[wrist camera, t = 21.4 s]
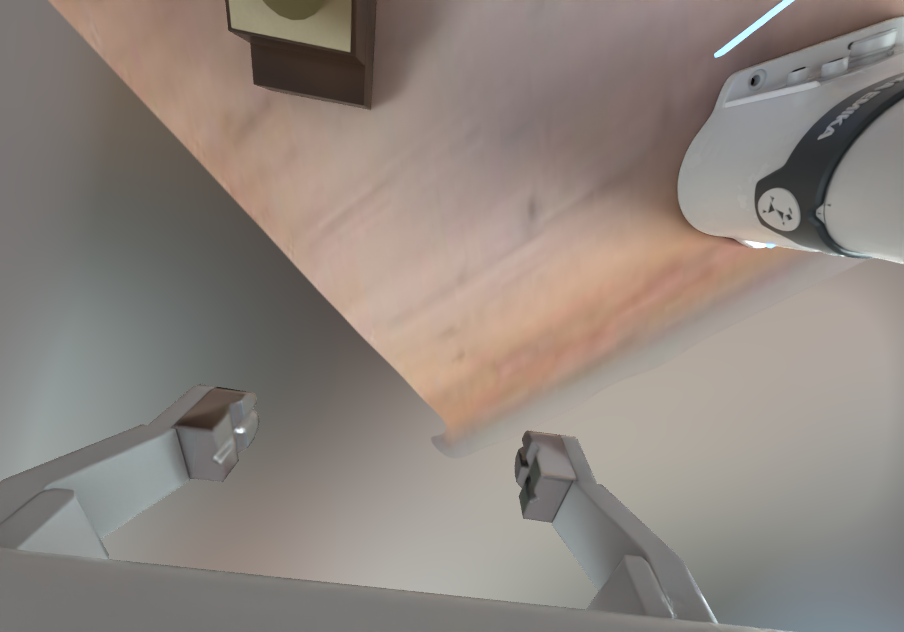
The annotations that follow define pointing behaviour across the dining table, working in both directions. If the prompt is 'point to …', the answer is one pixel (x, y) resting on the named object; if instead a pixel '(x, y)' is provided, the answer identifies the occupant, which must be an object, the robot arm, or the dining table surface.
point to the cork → (295, 8)
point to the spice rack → (311, 49)
